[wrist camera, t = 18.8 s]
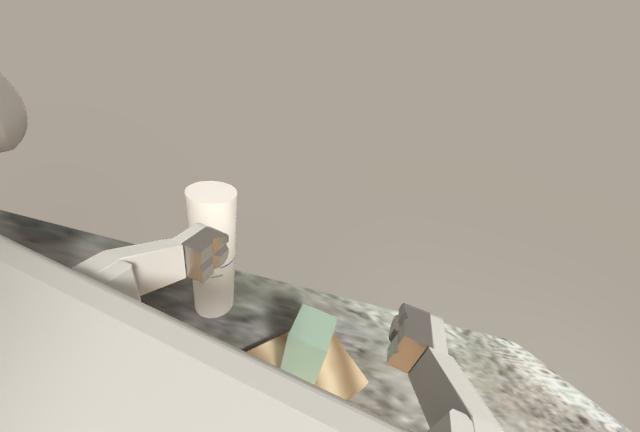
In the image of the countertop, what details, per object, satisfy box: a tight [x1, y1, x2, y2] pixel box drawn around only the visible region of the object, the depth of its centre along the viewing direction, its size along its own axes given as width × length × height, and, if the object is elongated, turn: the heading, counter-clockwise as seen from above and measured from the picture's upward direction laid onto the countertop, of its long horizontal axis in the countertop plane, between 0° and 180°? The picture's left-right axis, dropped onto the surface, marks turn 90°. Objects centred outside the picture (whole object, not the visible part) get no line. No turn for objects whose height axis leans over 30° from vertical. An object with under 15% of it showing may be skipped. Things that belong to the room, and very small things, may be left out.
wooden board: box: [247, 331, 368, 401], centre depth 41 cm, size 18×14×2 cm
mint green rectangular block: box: [280, 304, 337, 385], centre depth 37 cm, size 6×6×12 cm
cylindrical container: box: [185, 181, 237, 318], centre depth 43 cm, size 7×7×25 cm
